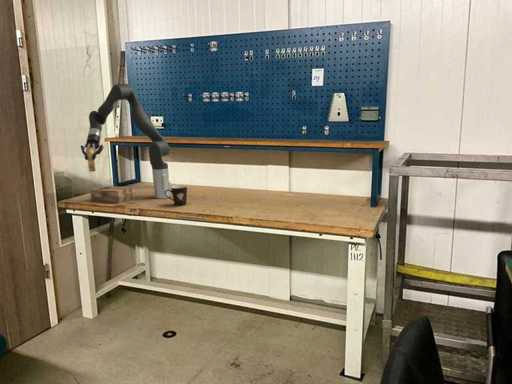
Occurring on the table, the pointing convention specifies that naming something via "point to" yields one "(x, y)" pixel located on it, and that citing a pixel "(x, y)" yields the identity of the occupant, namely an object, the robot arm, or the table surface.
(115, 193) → the brown rectangular block
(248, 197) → the table surface
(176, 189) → the coffee mug
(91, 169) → the wooden key
